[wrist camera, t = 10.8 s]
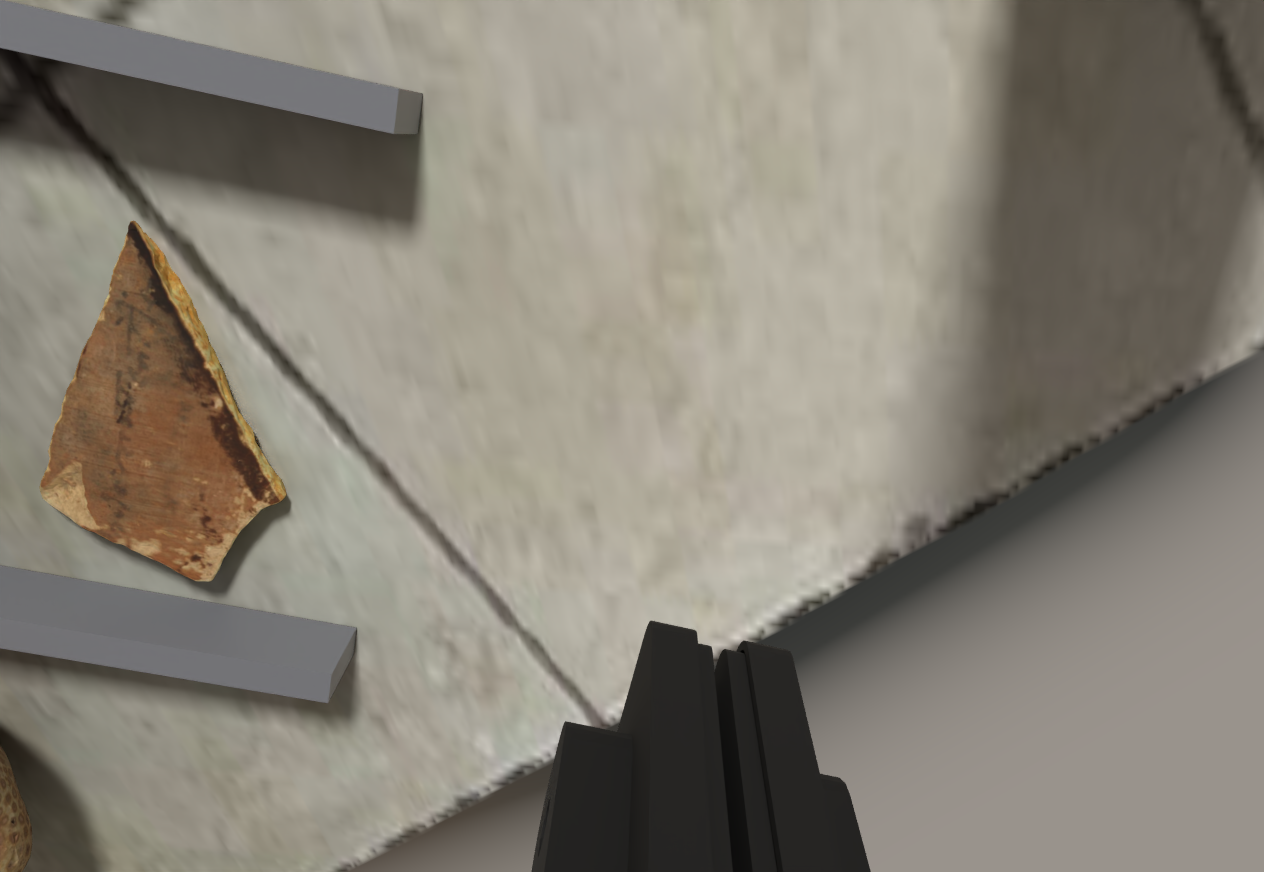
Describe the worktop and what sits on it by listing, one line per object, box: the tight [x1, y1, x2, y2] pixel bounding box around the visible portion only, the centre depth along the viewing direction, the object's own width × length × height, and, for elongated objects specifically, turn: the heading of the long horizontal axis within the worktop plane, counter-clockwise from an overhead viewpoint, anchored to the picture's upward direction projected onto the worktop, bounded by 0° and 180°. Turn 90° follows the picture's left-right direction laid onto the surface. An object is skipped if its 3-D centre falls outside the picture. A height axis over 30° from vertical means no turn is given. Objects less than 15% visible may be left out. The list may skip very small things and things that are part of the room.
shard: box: [40, 221, 287, 582], centre depth 30 cm, size 11×8×2 cm
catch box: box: [0, 0, 423, 703], centre depth 28 cm, size 20×15×3 cm
